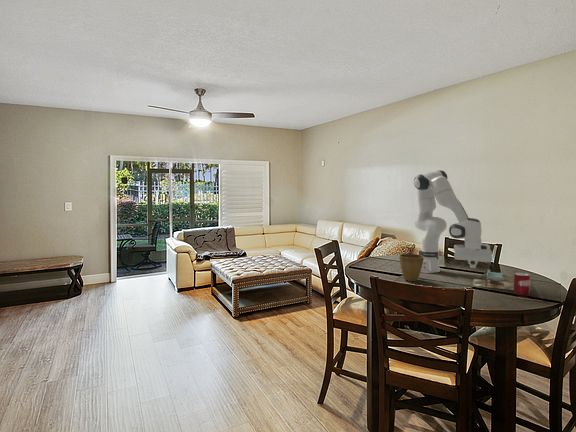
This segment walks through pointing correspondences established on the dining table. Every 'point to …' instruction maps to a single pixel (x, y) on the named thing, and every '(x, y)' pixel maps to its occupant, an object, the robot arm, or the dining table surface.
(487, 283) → the board
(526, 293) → the soda can
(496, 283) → the block
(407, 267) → the plant pot
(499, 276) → the lid
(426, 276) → the dining table surface
